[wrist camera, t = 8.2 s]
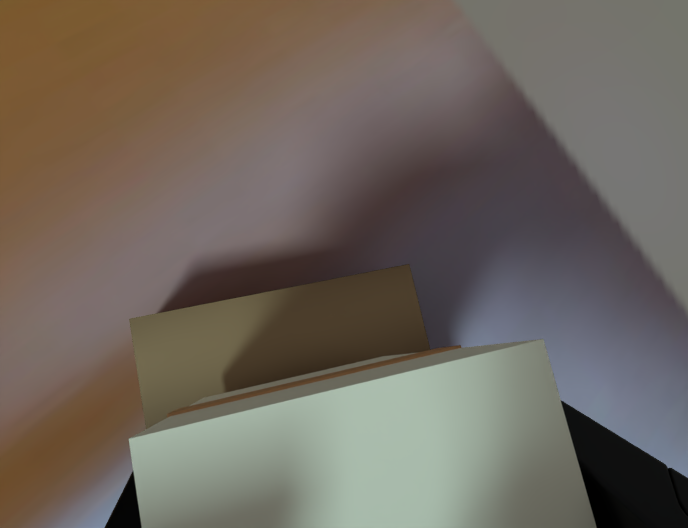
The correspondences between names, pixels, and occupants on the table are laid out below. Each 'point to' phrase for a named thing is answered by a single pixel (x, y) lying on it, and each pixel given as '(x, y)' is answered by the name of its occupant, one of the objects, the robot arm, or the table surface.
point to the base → (273, 337)
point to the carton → (372, 448)
